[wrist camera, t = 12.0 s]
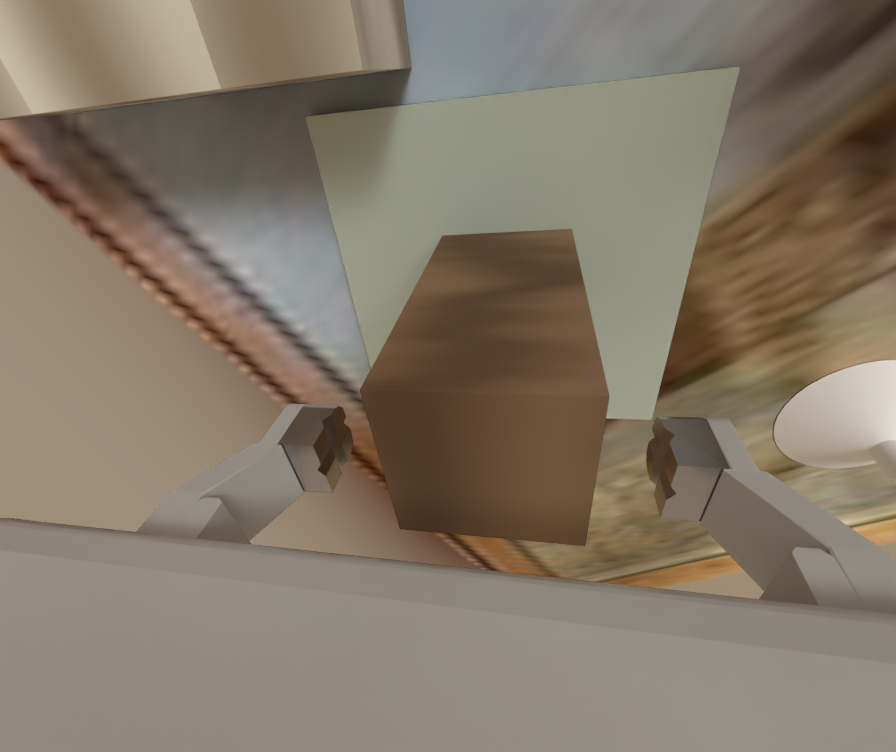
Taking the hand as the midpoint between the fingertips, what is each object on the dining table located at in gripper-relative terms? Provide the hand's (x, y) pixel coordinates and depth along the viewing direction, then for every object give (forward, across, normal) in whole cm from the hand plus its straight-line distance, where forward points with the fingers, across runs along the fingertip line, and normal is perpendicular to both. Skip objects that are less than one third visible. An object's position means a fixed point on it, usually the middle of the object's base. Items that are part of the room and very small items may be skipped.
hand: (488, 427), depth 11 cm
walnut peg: (+8, 0, 0) cm, 8 cm away
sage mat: (+9, 0, 0) cm, 9 cm away
